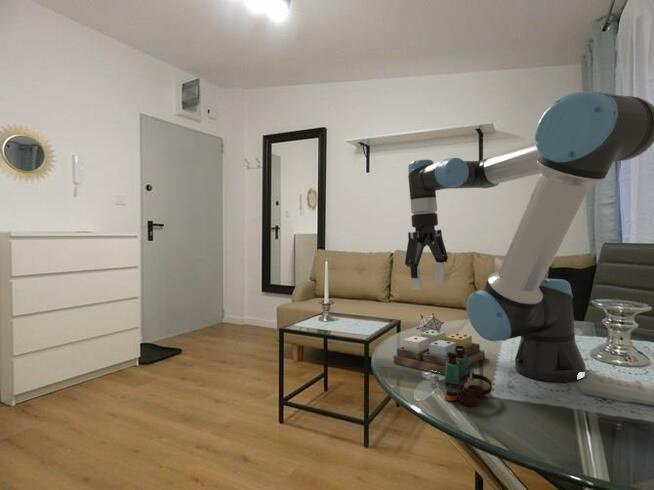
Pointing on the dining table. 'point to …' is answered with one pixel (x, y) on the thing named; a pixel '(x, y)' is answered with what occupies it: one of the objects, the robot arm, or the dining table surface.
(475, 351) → the wooden compartment tray
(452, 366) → the binoculars
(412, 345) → the button one
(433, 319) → the game die
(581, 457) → the dining table surface
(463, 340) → the button four
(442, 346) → the button two
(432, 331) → the button three
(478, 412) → the dining table surface
